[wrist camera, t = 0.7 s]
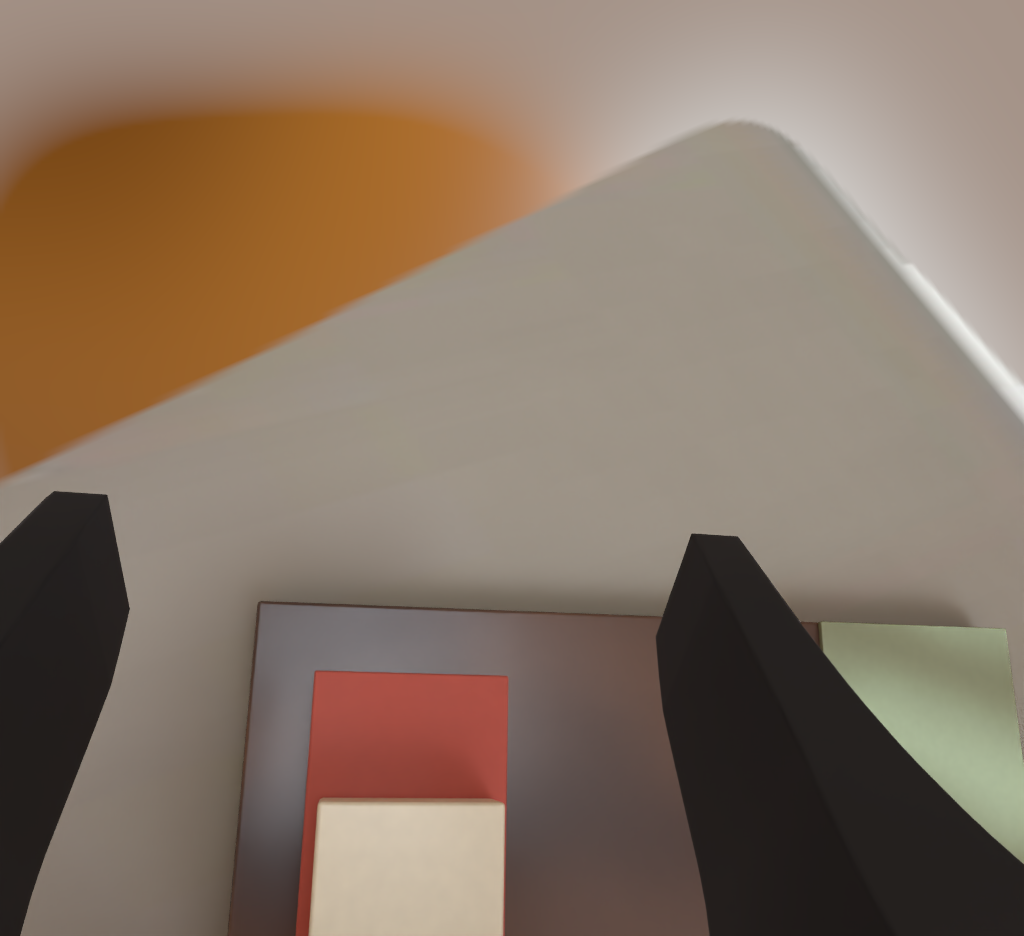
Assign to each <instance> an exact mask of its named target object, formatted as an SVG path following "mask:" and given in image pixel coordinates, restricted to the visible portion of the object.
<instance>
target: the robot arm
mask: <svg viewBox="0 0 1024 936" xmlns="http://www.w3.org/2000/svg"><path fill="white" fill-rule="evenodd" d="M129 610H130V608H129V603H128V598H127V593H126V588H125V583H124V578H123V573H122V567H121V562H120V557H119V552H118V547H117V542H116V537H115V532H114V527H113V522H112V517H111V512H110V506H109V501H108V496H107V495H103V494H88V493H73V492H57V491H54V492H53V493H51V494H50V495H49V496H48V497H46V498H45V499H44V500H43V501H42V502H41V503H40V504H39V505H38V506H37V507H36V508H35V509H34V510H33V511H32V512H31V513H30V514H29V515H28V516H27V517H26V518H25V519H24V520H23V521H22V522H21V523H20V524H19V525H18V526H17V527H16V528H15V529H14V530H13V531H12V532H11V533H10V534H9V535H8V536H7V537H6V538H5V539H4V540H3V541H2V542H1V543H0V936H20V934H21V931H22V927H23V923H24V920H25V916H26V913H27V909H28V905H29V902H30V898H31V895H32V892H33V889H34V886H35V883H36V880H37V877H38V874H39V871H40V868H41V866H42V863H43V860H44V857H45V854H46V852H47V849H48V846H49V844H50V841H51V839H52V836H53V834H54V831H55V829H56V826H57V823H58V821H59V818H60V816H61V813H62V811H63V808H64V805H65V803H66V800H67V798H68V795H69V793H70V790H71V788H72V785H73V782H74V780H75V777H76V775H77V772H78V770H79V767H80V765H81V762H82V759H83V757H84V754H85V752H86V749H87V747H88V744H89V741H90V739H91V736H92V734H93V731H94V728H95V726H96V723H97V721H98V718H99V715H100V713H101V710H102V708H103V705H104V702H105V700H106V697H107V694H108V692H109V689H110V686H111V683H112V679H113V675H114V671H115V667H116V663H117V660H118V656H119V652H120V648H121V644H122V639H123V635H124V631H125V627H126V622H127V618H128V614H129ZM656 648H657V659H658V671H659V681H660V690H661V699H662V708H663V714H664V718H665V723H666V728H667V732H668V737H669V741H670V746H671V750H672V755H673V759H674V764H675V768H676V773H677V777H678V781H679V786H680V790H681V794H682V799H683V803H684V807H685V812H686V816H687V820H688V825H689V829H690V833H691V838H692V842H693V846H694V851H695V855H696V860H697V864H698V868H699V873H700V878H701V884H702V889H703V894H704V900H705V905H706V911H707V919H708V927H709V935H710V936H1024V864H1023V863H1022V862H1021V861H1020V860H1019V859H1017V858H1016V857H1015V856H1014V855H1013V854H1012V853H1011V852H1010V851H1008V850H1007V849H1006V848H1005V847H1004V846H1003V845H1002V844H1001V843H999V842H998V841H997V840H996V839H995V838H994V837H993V836H991V835H990V834H989V833H988V832H987V831H986V830H985V829H984V828H983V827H982V826H981V825H980V824H979V823H978V822H977V821H976V820H974V819H973V818H972V817H971V816H970V815H969V814H968V813H967V812H966V811H965V810H964V809H963V808H962V807H961V806H960V805H959V804H958V803H957V802H956V801H955V800H954V799H953V798H952V797H951V796H950V795H949V794H948V793H947V792H946V791H945V790H944V789H943V788H942V787H941V786H940V785H939V784H938V783H937V782H936V781H935V780H934V779H933V778H932V777H931V776H930V775H929V774H928V773H927V772H926V771H925V770H924V769H923V768H922V767H921V766H920V765H919V764H918V763H917V762H916V761H915V760H914V759H913V757H912V756H911V755H910V754H909V753H908V752H907V751H906V750H905V749H904V748H903V747H902V746H901V745H900V744H899V742H898V741H897V740H896V739H895V738H894V737H893V736H892V735H891V733H890V732H889V731H888V730H887V729H886V728H885V727H884V725H883V724H882V723H881V722H880V721H879V720H878V718H877V717H876V716H875V715H874V714H873V713H872V712H871V710H870V709H869V708H868V707H867V706H866V705H865V704H864V702H863V701H862V700H861V699H860V697H859V696H858V695H857V694H856V693H855V691H854V690H853V689H852V688H851V687H850V685H849V684H848V683H847V682H846V680H845V679H844V678H843V677H842V675H841V674H840V673H839V672H838V670H837V669H836V668H835V666H834V665H833V664H832V663H831V661H830V660H829V659H828V658H827V656H826V655H825V654H824V652H823V651H822V650H821V649H820V647H819V646H818V645H817V644H816V642H815V641H814V640H813V638H812V637H811V636H810V634H809V633H808V632H807V630H806V629H805V628H804V626H803V625H802V624H801V622H800V621H799V620H798V618H797V617H796V616H795V614H794V613H793V612H792V610H791V609H790V607H789V606H788V605H787V603H786V602H785V601H784V599H783V598H782V597H781V595H780V594H779V592H778V591H777V590H776V588H775V587H774V585H773V584H772V583H771V581H770V580H769V579H768V577H767V576H766V574H765V573H764V572H763V570H762V569H761V567H760V566H759V565H758V563H757V562H756V561H755V559H754V558H753V556H752V555H751V554H750V552H749V551H748V550H747V548H746V547H745V546H744V544H743V543H742V542H741V540H740V539H739V538H738V537H736V536H721V535H706V534H691V537H690V540H689V543H688V546H687V548H686V551H685V554H684V557H683V560H682V563H681V566H680V568H679V571H678V574H677V577H676V580H675V583H674V586H673V588H672V591H671V594H670V597H669V600H668V603H667V606H666V608H665V611H664V614H663V617H662V620H661V623H660V626H659V628H658V631H657V634H656Z"/></svg>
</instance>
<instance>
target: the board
mask: <svg viewBox="0 0 1024 936" xmlns="http://www.w3.org/2000/svg"><path fill="white" fill-rule="evenodd" d="M661 620H662V617H660V616H634V615H608V614H582V613H557V612H531V611H505V610H479V609H453V608H428V607H402V606H376V605H350V604H324V603H299V602H273V601H260V602H259V603H258V606H257V617H256V628H255V639H254V650H253V661H252V672H251V683H250V694H249V705H248V716H247V728H246V739H245V750H244V761H243V772H242V783H241V794H240V805H239V816H238V827H237V838H236V849H235V860H234V871H233V882H232V893H231V904H230V915H229V926H228V936H296V922H297V908H298V894H299V881H300V867H301V853H302V839H303V825H304V811H305V797H306V783H307V769H308V756H309V742H310V728H311V714H312V700H313V686H314V673H315V671H354V672H390V673H427V674H463V675H500V676H508V743H507V811H506V878H505V936H710V935H709V927H708V919H707V911H706V905H705V900H704V894H703V889H702V884H701V878H700V873H699V868H698V864H697V860H696V855H695V851H694V846H693V842H692V838H691V833H690V829H689V825H688V820H687V816H686V812H685V807H684V803H683V799H682V794H681V790H680V786H679V781H678V777H677V773H676V768H675V764H674V759H673V755H672V750H671V746H670V741H669V737H668V732H667V728H666V723H665V718H664V714H663V708H662V699H661V690H660V681H659V671H658V659H657V648H656V634H657V631H658V628H659V626H660V623H661ZM801 624H802V625H803V626H804V628H805V629H806V630H807V632H808V633H809V634H810V636H811V637H812V638H813V640H814V641H815V642H816V644H817V645H818V646H819V647H820V649H821V650H822V651H823V652H824V654H825V655H826V656H827V658H828V659H829V660H830V661H831V663H832V664H833V665H834V666H835V668H836V669H837V670H838V672H839V673H840V674H841V675H842V677H843V678H844V679H845V680H846V682H847V683H848V684H849V685H850V687H851V688H852V689H853V690H854V691H855V693H856V694H857V695H858V696H859V697H860V699H861V700H862V701H863V702H864V704H865V705H866V706H867V707H868V708H869V709H870V710H871V712H872V713H873V714H874V715H875V716H876V717H877V718H878V720H879V721H880V722H881V723H882V724H883V725H884V727H885V728H886V729H887V730H888V731H889V732H890V733H891V735H892V736H893V737H894V738H895V739H896V740H897V741H898V742H899V744H900V745H901V746H902V747H903V748H904V749H905V750H906V751H907V752H908V753H909V754H910V755H911V756H912V757H913V759H914V760H915V761H916V762H917V763H918V764H919V765H920V766H921V767H922V768H923V769H924V770H925V771H926V772H927V773H928V774H929V775H930V776H931V777H932V778H933V779H934V780H935V781H936V782H937V783H938V784H939V785H940V786H941V787H942V788H943V789H944V790H945V791H946V792H947V793H948V794H949V795H950V796H951V797H952V798H953V799H954V800H955V801H956V802H957V803H958V804H959V805H960V806H961V807H962V808H963V809H964V810H965V811H966V812H967V813H968V814H969V815H970V816H971V817H972V818H973V819H974V820H976V821H977V822H978V823H979V824H980V825H981V826H982V827H983V828H984V829H985V830H986V831H987V832H988V833H989V834H990V835H991V836H993V837H994V838H995V839H996V840H997V841H998V842H999V843H1001V844H1002V845H1003V846H1004V847H1005V848H1006V849H1007V850H1008V851H1010V852H1011V853H1012V854H1013V855H1014V856H1015V857H1016V858H1017V859H1019V860H1020V861H1021V862H1022V863H1023V864H1024V763H1023V756H1022V748H1021V741H1020V733H1019V726H1018V718H1017V711H1016V703H1015V696H1014V688H1013V681H1012V673H1011V666H1010V658H1009V651H1008V643H1007V636H1006V629H1002V628H976V627H951V626H925V625H899V624H874V623H848V622H822V621H821V622H818V623H815V622H801Z"/></svg>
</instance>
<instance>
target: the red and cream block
mask: <svg viewBox="0 0 1024 936" xmlns="http://www.w3.org/2000/svg"><path fill="white" fill-rule="evenodd" d="M507 743H508V676H500V675H463V674H427V673H390V672H354V671H315V673H314V686H313V700H312V714H311V728H310V742H309V756H308V769H307V783H306V797H305V811H304V825H303V839H302V853H301V867H300V881H299V894H298V908H297V922H296V936H505V878H506V811H507Z"/></svg>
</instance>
